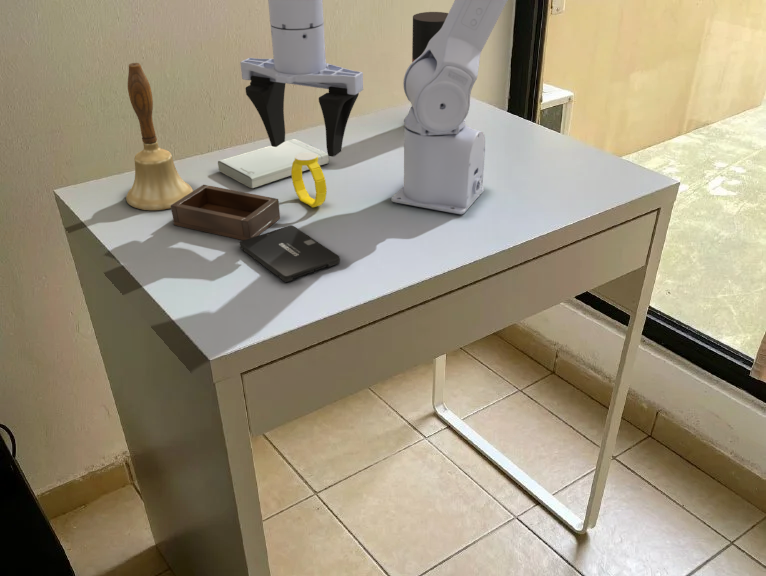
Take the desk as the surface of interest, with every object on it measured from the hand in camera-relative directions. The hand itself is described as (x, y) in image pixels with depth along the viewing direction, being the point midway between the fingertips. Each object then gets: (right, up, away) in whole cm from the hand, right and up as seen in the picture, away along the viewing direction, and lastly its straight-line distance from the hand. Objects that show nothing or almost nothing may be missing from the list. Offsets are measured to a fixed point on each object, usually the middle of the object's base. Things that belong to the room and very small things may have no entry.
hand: (306, 148), depth 91 cm
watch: (0, -6, +4) cm, 7 cm away
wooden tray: (-9, -9, 0) cm, 13 cm away
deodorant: (+16, +12, +26) cm, 33 cm away
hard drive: (-6, +2, +13) cm, 15 cm away
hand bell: (-19, -4, +6) cm, 20 cm away
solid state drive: (-1, -14, -6) cm, 15 cm away
